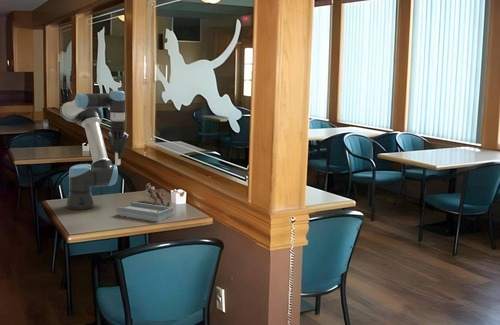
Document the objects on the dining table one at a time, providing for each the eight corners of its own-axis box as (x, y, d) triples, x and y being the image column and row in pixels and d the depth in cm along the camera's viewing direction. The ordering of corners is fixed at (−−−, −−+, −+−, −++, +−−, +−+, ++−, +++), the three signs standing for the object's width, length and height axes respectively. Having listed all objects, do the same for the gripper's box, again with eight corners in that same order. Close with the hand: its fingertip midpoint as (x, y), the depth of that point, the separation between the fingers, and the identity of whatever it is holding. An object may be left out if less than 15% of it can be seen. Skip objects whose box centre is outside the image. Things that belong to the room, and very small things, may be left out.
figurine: (159, 197, 319) (142, 176, 344) (152, 214, 321) (136, 192, 345) (176, 201, 325) (158, 181, 350) (169, 217, 327) (152, 196, 351)
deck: (116, 215, 309) (116, 206, 308) (132, 209, 322) (132, 201, 321) (158, 221, 299) (158, 213, 298) (172, 215, 312) (172, 207, 311)
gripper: (103, 120, 304) (103, 164, 308) (123, 121, 299) (123, 167, 303) (111, 119, 311) (112, 162, 315) (132, 120, 306) (132, 165, 310)
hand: (117, 164), depth 309 cm, fingers closed
